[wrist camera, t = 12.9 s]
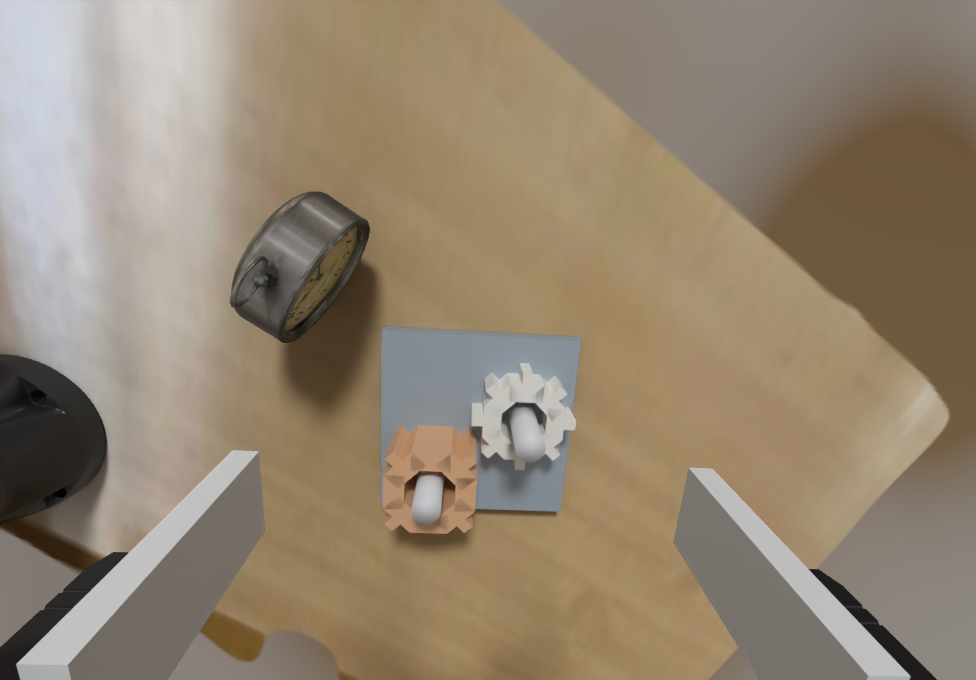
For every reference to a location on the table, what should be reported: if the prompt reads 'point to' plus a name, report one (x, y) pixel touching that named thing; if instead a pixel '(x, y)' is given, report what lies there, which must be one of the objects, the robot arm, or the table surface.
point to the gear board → (458, 380)
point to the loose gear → (431, 453)
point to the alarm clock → (298, 264)
